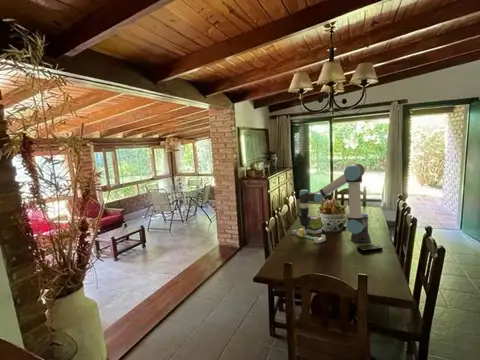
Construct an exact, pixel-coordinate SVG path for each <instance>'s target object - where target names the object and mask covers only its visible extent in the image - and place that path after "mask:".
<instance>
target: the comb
mask: <svg viewBox="0 0 480 360" xmlns="http://www.w3.org/2000/svg"><path fill="white" fill-rule="evenodd" d="M313 237H314V240H313V241H314V243H315V244H320V243H322V242H321V240H323V242H325V241H326V239H327V237H326V235H325V234H321V235H320V237H317V236H313Z"/></svg>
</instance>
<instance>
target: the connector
mask: <svg viewBox="0 0 480 360" xmlns="http://www.w3.org/2000/svg"><path fill="white" fill-rule="evenodd" d="M297 232H298V229H293V230H291V234H292V235H294V236H295V235H296V233H297ZM296 236H297V235H296Z"/></svg>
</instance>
